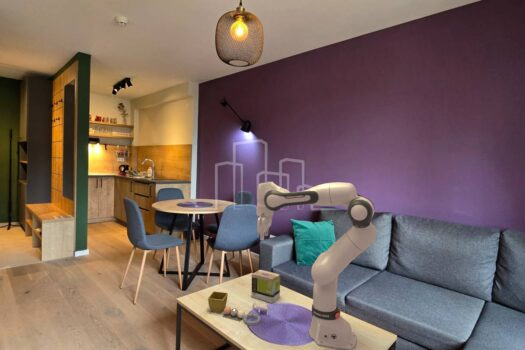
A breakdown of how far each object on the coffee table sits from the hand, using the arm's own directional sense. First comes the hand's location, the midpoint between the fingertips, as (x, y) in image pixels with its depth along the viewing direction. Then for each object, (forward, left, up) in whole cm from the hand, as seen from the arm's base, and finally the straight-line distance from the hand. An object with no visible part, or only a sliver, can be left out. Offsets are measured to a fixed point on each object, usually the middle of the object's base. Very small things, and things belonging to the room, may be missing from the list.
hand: (264, 237), depth 158 cm
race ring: (+3, +7, -43) cm, 44 cm away
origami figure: (+3, -4, -44) cm, 44 cm away
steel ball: (+13, +7, -42) cm, 45 cm away
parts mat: (+13, +7, -43) cm, 46 cm away
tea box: (+8, -22, -44) cm, 49 cm away
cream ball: (+9, +7, -42) cm, 44 cm away
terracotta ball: (+18, +7, -42) cm, 46 cm away
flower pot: (+25, +5, -44) cm, 50 cm away
